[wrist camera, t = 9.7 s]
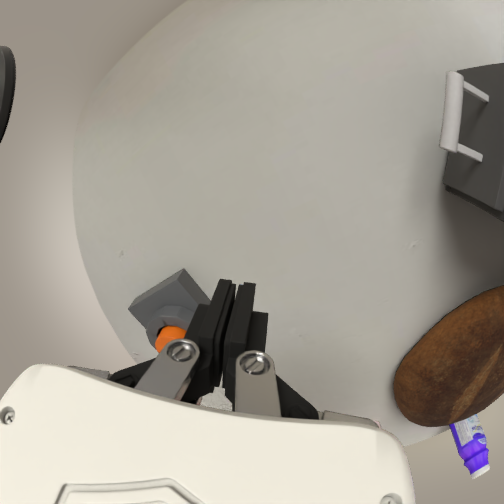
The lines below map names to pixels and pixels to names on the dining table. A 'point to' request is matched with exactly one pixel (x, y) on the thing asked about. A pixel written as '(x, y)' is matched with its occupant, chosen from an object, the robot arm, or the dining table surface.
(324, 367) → the dining table surface
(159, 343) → the button
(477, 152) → the fryer drawer
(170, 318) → the control block
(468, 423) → the bottle
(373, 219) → the dining table surface
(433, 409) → the bread
